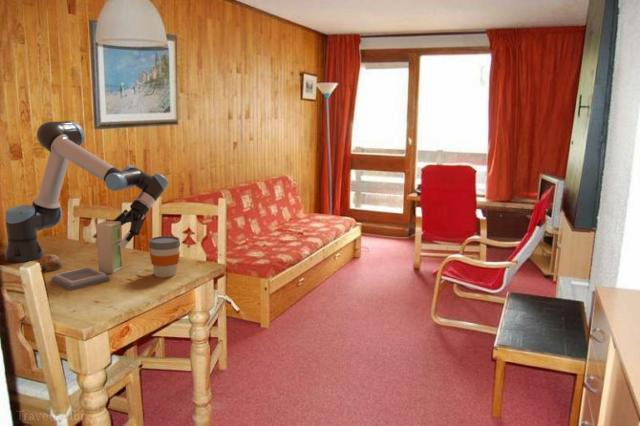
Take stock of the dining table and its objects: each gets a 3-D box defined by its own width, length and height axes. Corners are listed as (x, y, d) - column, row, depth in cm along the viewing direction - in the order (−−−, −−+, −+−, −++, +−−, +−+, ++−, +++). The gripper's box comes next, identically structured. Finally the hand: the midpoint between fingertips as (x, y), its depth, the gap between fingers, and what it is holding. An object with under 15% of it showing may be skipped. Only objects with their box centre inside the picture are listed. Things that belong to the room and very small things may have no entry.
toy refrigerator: (114, 274, 213) (111, 225, 209) (98, 272, 214) (95, 224, 210) (125, 268, 221) (122, 221, 216) (109, 267, 222) (107, 220, 218)
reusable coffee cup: (186, 274, 215) (185, 240, 212) (157, 280, 206) (156, 245, 203) (173, 267, 224) (171, 234, 221) (145, 272, 216) (143, 238, 213)
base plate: (51, 280, 203) (50, 274, 202) (90, 271, 215) (89, 265, 215) (70, 290, 193) (69, 283, 193) (110, 280, 205) (109, 273, 205)
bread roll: (62, 277, 218) (69, 259, 219) (38, 272, 211) (45, 254, 212) (53, 272, 225) (60, 255, 226) (30, 267, 217) (37, 249, 218)
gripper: (164, 213, 219) (134, 254, 210) (132, 205, 234) (103, 243, 225) (153, 202, 213) (122, 244, 205) (121, 195, 229) (91, 233, 220)
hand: (112, 243), depth 215 cm, fingers open, 13 cm apart
